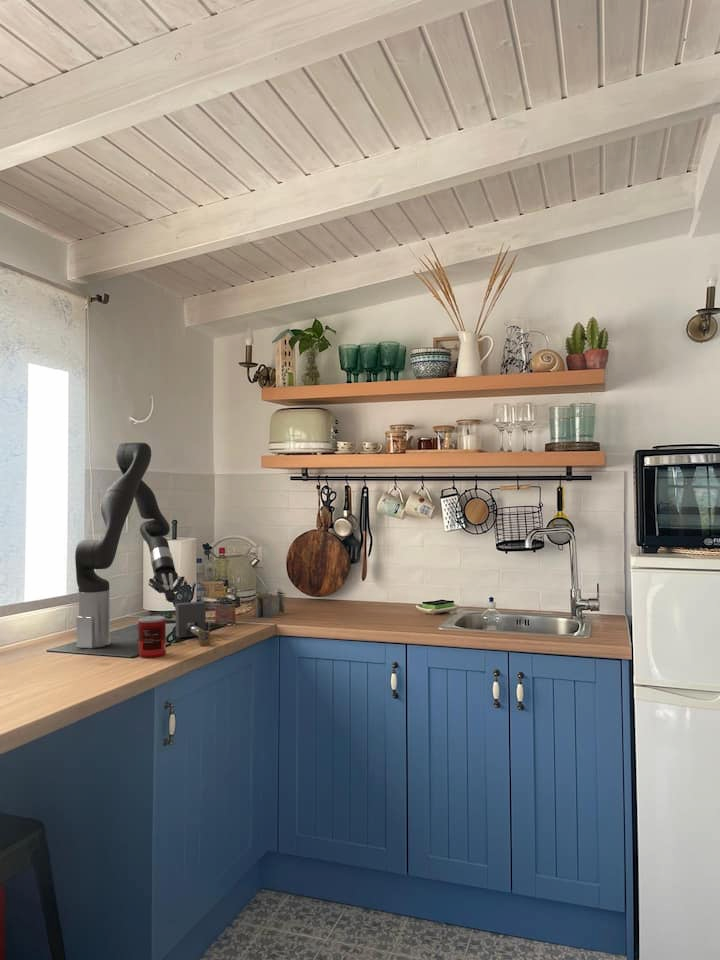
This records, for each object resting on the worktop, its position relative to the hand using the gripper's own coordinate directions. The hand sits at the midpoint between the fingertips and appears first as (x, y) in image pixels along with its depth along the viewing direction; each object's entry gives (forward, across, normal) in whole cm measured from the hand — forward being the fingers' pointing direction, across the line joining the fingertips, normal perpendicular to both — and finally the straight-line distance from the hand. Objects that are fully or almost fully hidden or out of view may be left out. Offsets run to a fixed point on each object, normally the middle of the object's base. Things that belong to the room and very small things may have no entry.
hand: (171, 600), depth 255 cm
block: (+16, +3, -2) cm, 17 cm away
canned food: (+32, -14, -17) cm, 39 cm away
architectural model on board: (0, +41, +16) cm, 44 cm away
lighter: (+6, +20, +9) cm, 23 cm away
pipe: (+21, +3, -6) cm, 22 cm away
